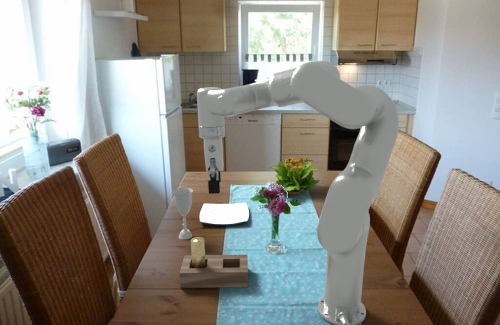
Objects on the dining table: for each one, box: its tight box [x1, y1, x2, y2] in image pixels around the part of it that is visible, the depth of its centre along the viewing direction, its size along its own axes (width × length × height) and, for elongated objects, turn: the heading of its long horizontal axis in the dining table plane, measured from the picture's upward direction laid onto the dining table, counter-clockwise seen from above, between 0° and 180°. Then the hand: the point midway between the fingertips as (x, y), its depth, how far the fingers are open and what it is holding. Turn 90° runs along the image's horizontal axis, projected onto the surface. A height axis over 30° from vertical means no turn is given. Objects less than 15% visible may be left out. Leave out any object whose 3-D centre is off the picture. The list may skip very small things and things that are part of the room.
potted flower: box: [270, 156, 320, 195], centre depth 193 cm, size 25×24×18 cm
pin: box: [190, 236, 206, 268], centre depth 120 cm, size 4×4×12 cm
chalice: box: [172, 187, 194, 240], centre depth 146 cm, size 7×7×18 cm
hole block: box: [179, 254, 249, 289], centre depth 122 cm, size 10×20×5 cm, turn 91°
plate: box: [199, 202, 250, 227], centre depth 165 cm, size 20×20×3 cm
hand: (214, 187), depth 118 cm, fingers open, 9 cm apart
